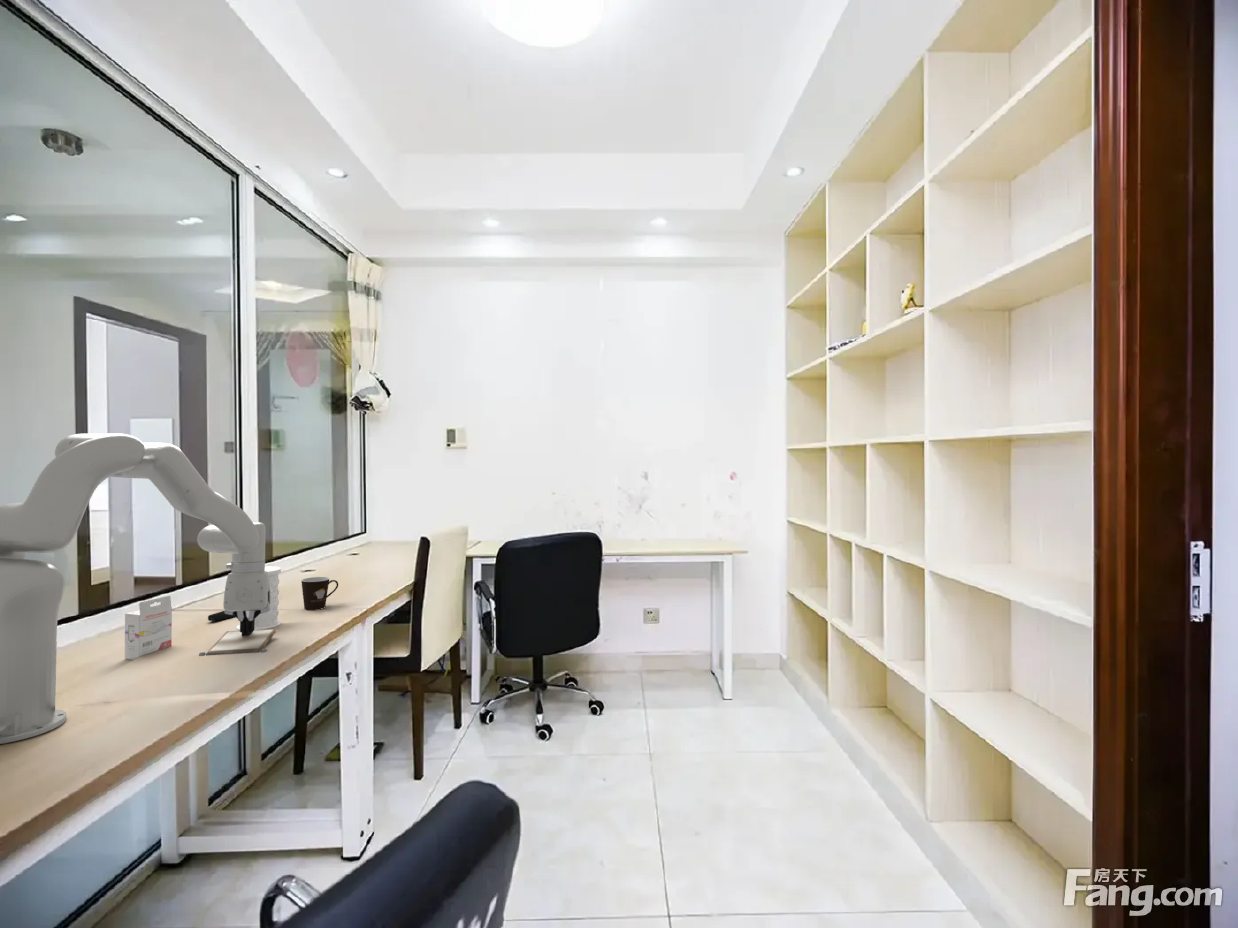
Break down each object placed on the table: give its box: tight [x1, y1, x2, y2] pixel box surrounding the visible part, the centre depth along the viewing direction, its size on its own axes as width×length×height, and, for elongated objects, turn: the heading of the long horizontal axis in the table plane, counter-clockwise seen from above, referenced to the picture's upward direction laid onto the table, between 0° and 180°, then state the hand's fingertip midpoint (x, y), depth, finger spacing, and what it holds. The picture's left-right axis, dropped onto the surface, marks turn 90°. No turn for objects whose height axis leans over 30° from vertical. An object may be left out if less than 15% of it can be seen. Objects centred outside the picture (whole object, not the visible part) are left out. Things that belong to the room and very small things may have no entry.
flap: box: [205, 628, 277, 656], centre depth 151 cm, size 13×12×1 cm
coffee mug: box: [300, 576, 339, 611], centre depth 197 cm, size 12×9×10 cm
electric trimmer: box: [207, 610, 235, 622], centre depth 183 cm, size 4×16×3 cm, turn 169°
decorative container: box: [235, 565, 282, 631], centre depth 171 cm, size 12×12×18 cm
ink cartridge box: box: [124, 595, 173, 661], centre depth 147 cm, size 9×5×15 cm, turn 168°
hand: (247, 634), depth 154 cm, fingers closed
